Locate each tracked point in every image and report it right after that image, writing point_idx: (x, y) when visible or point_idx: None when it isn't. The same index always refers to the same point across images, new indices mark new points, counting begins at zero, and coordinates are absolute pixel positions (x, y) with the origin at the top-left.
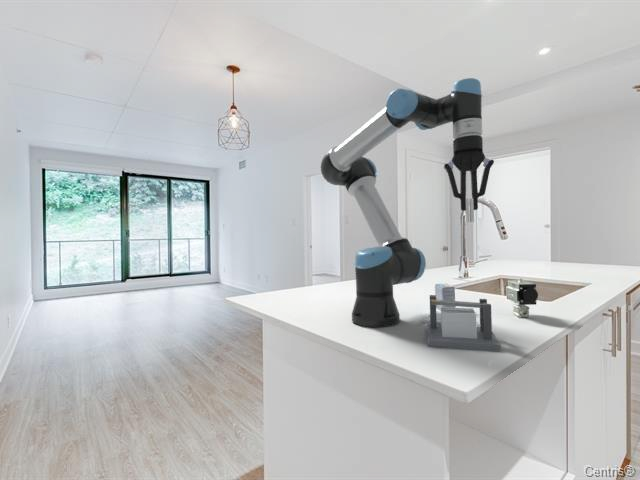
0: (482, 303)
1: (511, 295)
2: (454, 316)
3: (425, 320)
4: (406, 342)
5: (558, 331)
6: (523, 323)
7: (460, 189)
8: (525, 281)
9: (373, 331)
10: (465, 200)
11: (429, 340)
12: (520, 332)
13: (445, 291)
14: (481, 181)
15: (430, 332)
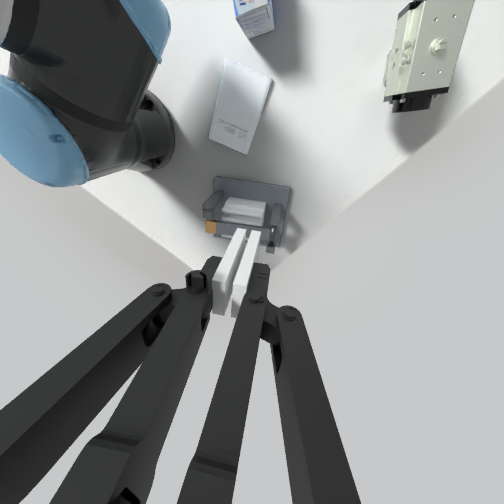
0: (270, 233)
1: (392, 61)
2: None
3: (211, 139)
4: (195, 223)
5: (387, 174)
6: (365, 129)
7: (167, 325)
8: (463, 28)
9: (153, 186)
10: (213, 301)
11: (215, 236)
12: (331, 181)
13: (245, 19)
14: (291, 396)
15: (216, 211)
